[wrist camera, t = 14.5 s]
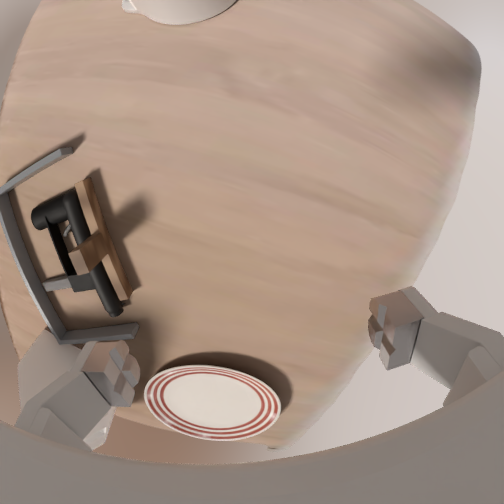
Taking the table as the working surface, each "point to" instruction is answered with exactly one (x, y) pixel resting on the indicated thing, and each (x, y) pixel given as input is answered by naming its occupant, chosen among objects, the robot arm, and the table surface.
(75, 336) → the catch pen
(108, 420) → the white fork-shaped stand
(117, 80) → the table surface
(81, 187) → the walnut scraper
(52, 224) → the black angular piece
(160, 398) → the dinner plate
